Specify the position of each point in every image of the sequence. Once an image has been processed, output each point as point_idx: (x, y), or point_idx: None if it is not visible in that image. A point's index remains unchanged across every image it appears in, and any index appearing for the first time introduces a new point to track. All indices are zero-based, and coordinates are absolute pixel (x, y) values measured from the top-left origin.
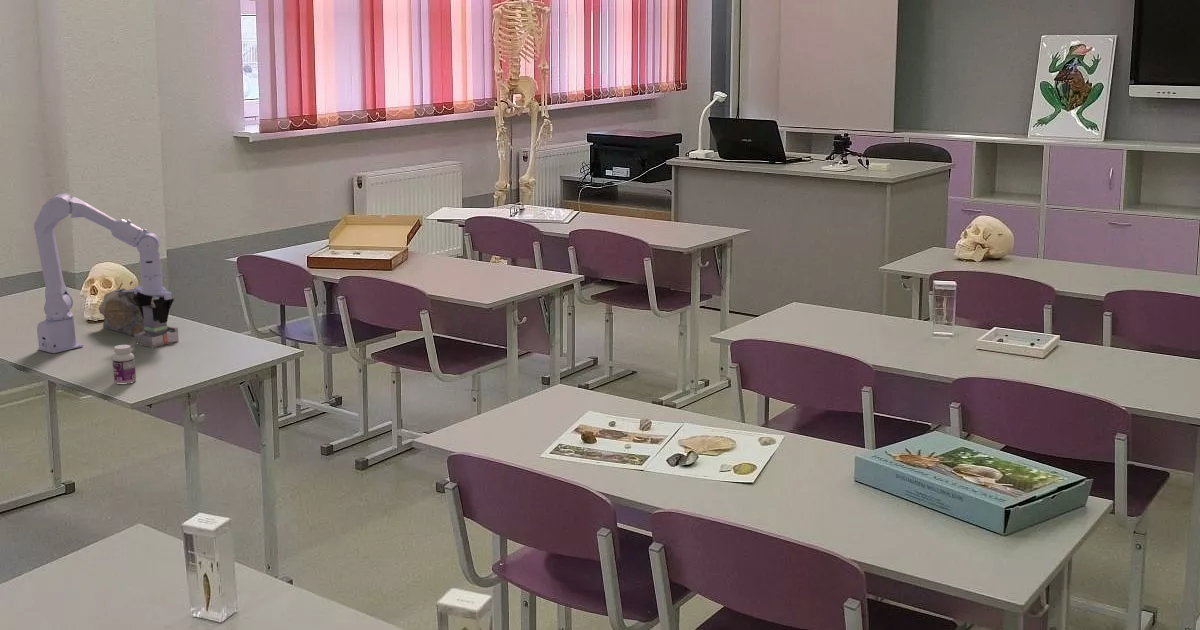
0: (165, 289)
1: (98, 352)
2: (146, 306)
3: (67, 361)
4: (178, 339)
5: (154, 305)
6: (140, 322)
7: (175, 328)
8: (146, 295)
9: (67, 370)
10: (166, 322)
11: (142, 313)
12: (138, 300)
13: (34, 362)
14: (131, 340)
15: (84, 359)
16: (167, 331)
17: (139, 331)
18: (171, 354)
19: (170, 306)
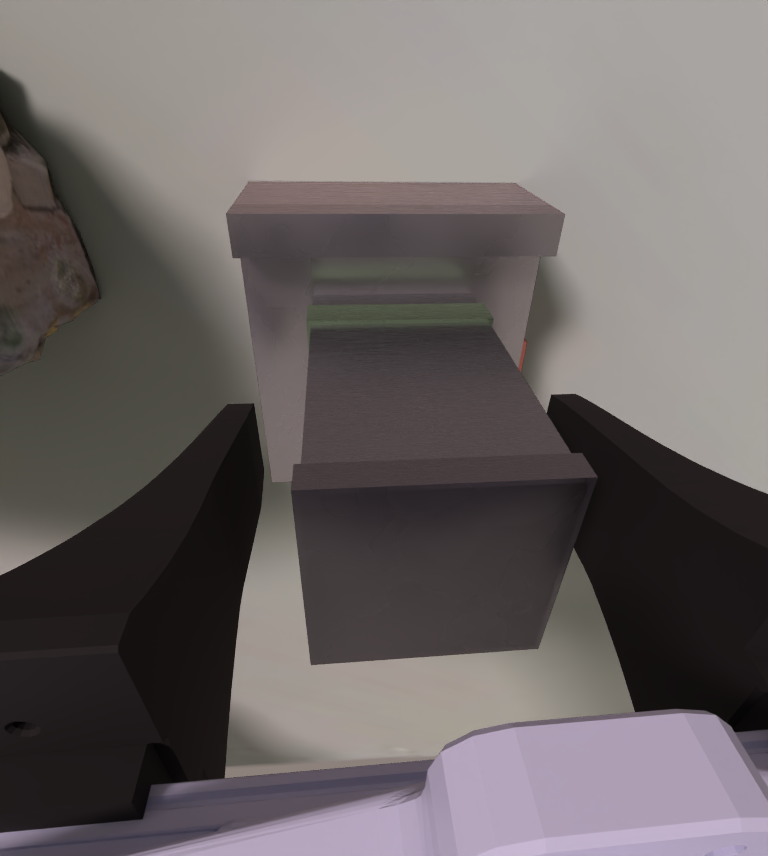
0: (741, 757)
1: (293, 611)
2: (382, 646)
3: (324, 708)
4: (519, 188)
5: (431, 572)
6: (15, 334)
7: (556, 246)
8: (176, 741)
9: (439, 735)
10: (498, 338)
11: (252, 540)
12: (223, 755)
13: (235, 755)
14: (161, 396)
15: (355, 674)
16: (458, 281)
17: (72, 318)
18: (701, 443)
19: (766, 501)
